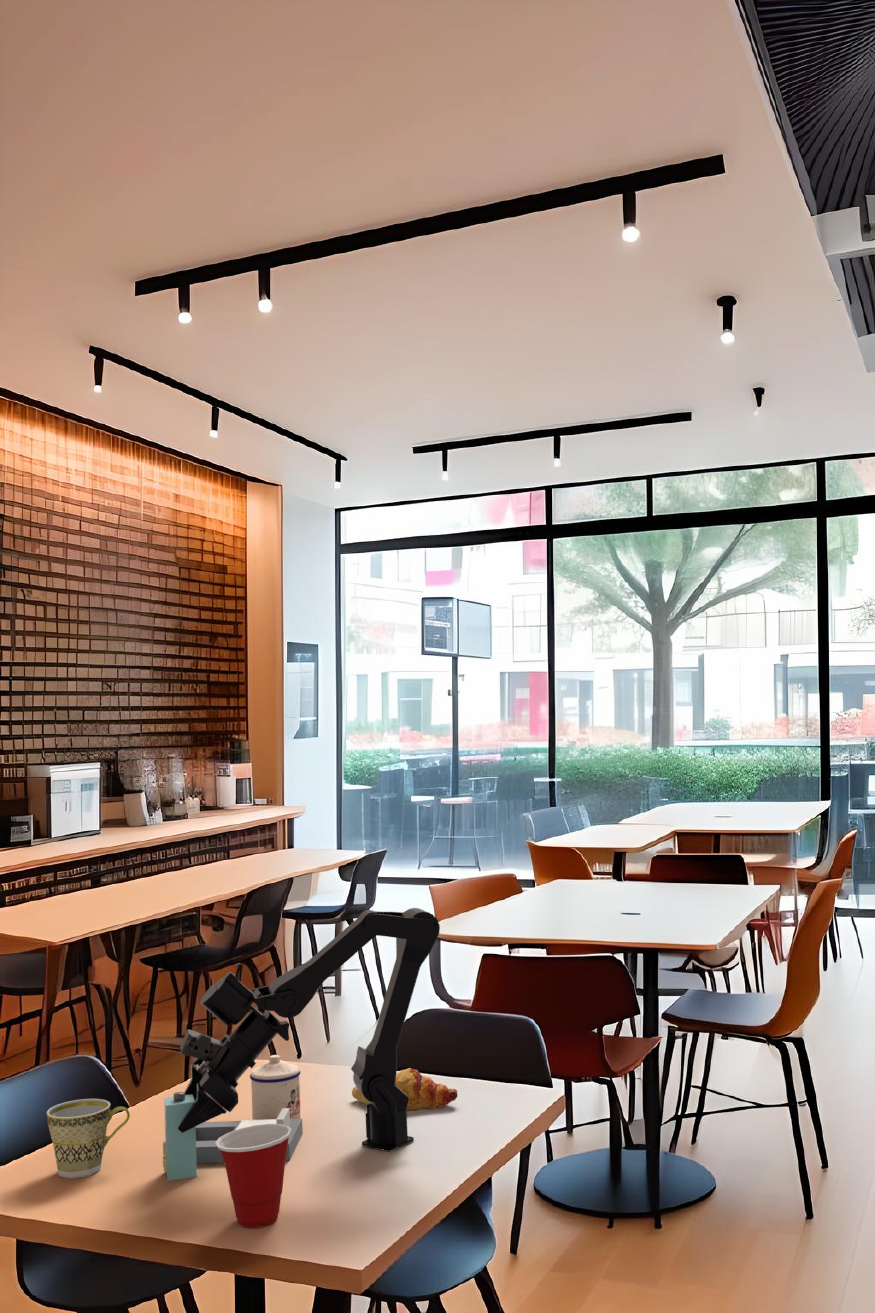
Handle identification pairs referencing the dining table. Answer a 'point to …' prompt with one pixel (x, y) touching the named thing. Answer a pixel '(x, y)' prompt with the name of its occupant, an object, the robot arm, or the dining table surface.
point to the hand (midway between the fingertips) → (177, 1122)
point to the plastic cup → (255, 1171)
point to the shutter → (269, 1120)
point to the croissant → (418, 1091)
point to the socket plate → (213, 1130)
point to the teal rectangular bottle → (179, 1139)
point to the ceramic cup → (80, 1135)
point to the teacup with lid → (275, 1089)
